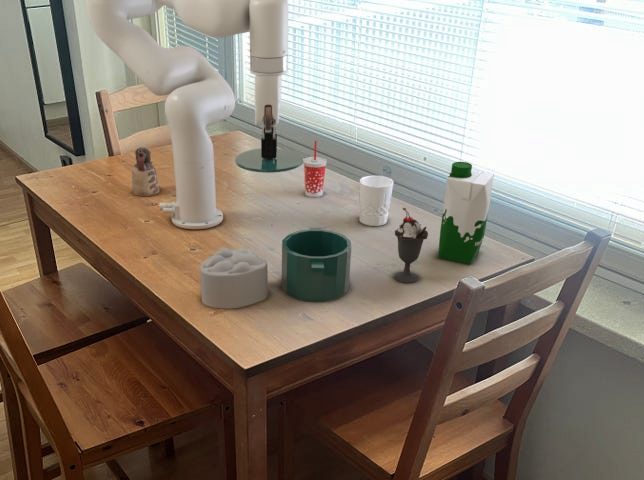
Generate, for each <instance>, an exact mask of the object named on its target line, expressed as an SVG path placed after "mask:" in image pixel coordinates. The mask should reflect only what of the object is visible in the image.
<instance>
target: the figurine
mask: <svg viewBox="0 0 644 480" xmlns="http://www.w3.org/2000/svg"><path fill="white" fill-rule="evenodd" d="M134 154H135V160H136V163H135V164H133V166H132V170H131V189H132V193H133V194H134V195H135V196H138V197H151V196H155V195H157V194H159V193H160V184H159V180H158V174H157V170H156V167H155V166H154V165H153V161H151V158H152V157H151V151H150V150H149V149H148V148H147V147H144V146H143V147H142V146H140V147H138V148H137V149H136V150H135V151H134Z"/></svg>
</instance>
